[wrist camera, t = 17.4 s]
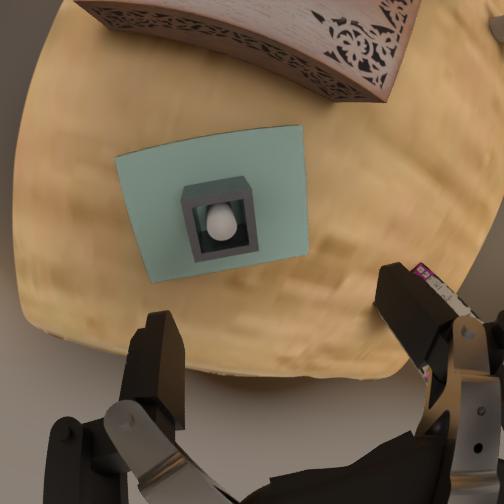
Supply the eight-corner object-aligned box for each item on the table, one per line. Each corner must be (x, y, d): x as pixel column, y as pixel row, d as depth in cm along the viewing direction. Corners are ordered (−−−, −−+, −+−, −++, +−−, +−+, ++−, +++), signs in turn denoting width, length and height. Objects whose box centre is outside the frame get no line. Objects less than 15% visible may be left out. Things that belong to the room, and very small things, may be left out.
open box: (243, 175, 27) (251, 188, 22) (250, 229, 30) (259, 251, 25) (184, 186, 26) (180, 201, 22) (195, 239, 29) (194, 262, 25)
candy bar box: (420, 259, 39) (485, 321, 25) (426, 277, 41) (483, 336, 27) (370, 302, 41) (424, 377, 27) (379, 317, 43) (428, 386, 29)
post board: (297, 124, 26) (321, 128, 21) (304, 248, 34) (324, 276, 28) (118, 155, 25) (96, 167, 19) (153, 276, 32) (145, 310, 27)
